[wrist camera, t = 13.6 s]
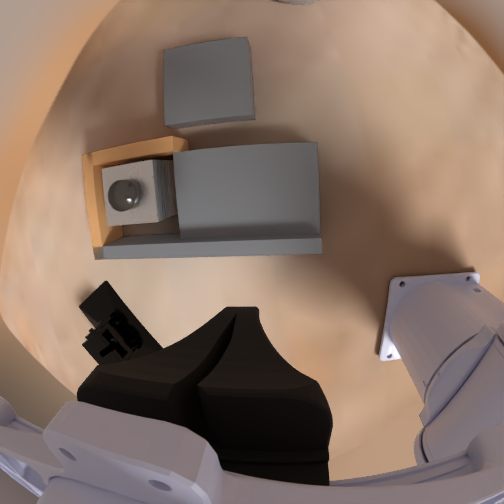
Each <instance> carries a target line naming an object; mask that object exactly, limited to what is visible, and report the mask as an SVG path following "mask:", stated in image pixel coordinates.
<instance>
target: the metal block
mask: <svg viewBox="0 0 504 504" xmlns="http://www.w3.org/2000/svg"><path fill="white" fill-rule="evenodd" d="M102 179H103V190H104V199H105V208H106V216H107V223H108V226H117V225H129V224H140V223H153V222H160V221H162V220H164V219H166V218H168V217H171V216H173V215H175V214H177V213H178V209H177V198H176V187H175V175H174V161H172V160H147V161H141V162H135V163H130V164H124V165H119V166H114V167H109V168H104V169H102Z"/></svg>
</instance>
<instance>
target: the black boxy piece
mask: <svg viewBox="0 0 504 504" xmlns="http://www.w3.org/2000/svg"><path fill="white" fill-rule="evenodd" d="M79 308H80V309H81V311H82V312H83V313H84V314H85V316H86V317H87V318H88V320H89V321H90V322H91V323H92V325H93V326H94V327H95V328H94V329H92V328H91V329H90V330H89V332H90V333H89V334H88V335H87V336H86V337H85V338H86V339H87V340H86V341H85V342H84V343H83V344H82V345H83V347H84V348H85V349H86V350H87V351H88V352H89V354H90V355H91V356H92V357H93V358H94V359H95V360H96V362H97V363H98V364H99V365H104V364H111V363H117V362H123V361H127V360H131V359H135V358H139V357H142V356H145V355H148V354H151V353H153V352H156V351H159V350H161V349H163V348H162V347H161V346H160V344H159V343H158V342H157V341H156V340H155V339H154V338H153V337H152V335H151V334H150V333H149V332H148V331H147V330H146V329H145V327H144V326H143V325H142V324H141V323H140V322H139V320H138V319H137V318H136V317H135V316H134V314H133V313H132V312H131V311H130V309H129V308H128V307H127V306H126V304H125V303H124V302H123V301H122V299H121V298H120V297H119V296H118V294H117V293H116V292H115V290H114V289H113V288H112V287H111V285H110V284H109V283H108V281H105V282H103V283H102V284H101V285H100V286H99V287H98V288H97V289H96V290H95V291H94V292H93V293H92V294H91V295H90V296H89V297H88V298H87V299H86V300H85V301H84V302H83V303H82V304H81V305H80V306H79Z"/></svg>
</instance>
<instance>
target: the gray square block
mask: <svg viewBox="0 0 504 504" xmlns="http://www.w3.org/2000/svg"><path fill="white" fill-rule="evenodd" d="M164 120H165V126H167V127H170V128H173V129H178V128H185V127H192V126H199V125H207V124H215V123H224V122H235V121H246V120H255V108H254V93H253V78H252V64H251V50H250V45H249V41H248V38H247V37H237V38H229V39H222V40H215V41H208V42H202V43H197V44H192V45H186V46H182V47H177V48H173V49H168V50H164Z"/></svg>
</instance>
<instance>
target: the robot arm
mask: <svg viewBox="0 0 504 504" xmlns="http://www.w3.org/2000/svg"><path fill="white" fill-rule="evenodd" d="M467 277H468V279H467ZM466 279H467V280H466ZM479 279H480V275H479V273H477V272H465V273H452V274H438V275H424V276H408V277H395V278H393V279H392V280H391V281H390V286H389V295H388V302H387V309H386V316H385V323H384V329H383V335H382V340H381V346H380V351H379V359H380V360H381V361H387V360H395V359H402V361H403V363H404V365H405V367H406V368H407V370H408V372H409V374H410V376H411V378H412V380H413V382H414V384H415V386H416V388H417V390H418V392H419V394H420V397H421V399H422V401H423V403H424V405H425V406H424V408H423V410H422V411H421V413H420V414H419V417H420V419H421V421H422V424H423V426H424V428H423V429H422V430H421V431H420V432H419V433H418V435H417V436H416V439H415V442H414V454H415V458H416V462H417V466H414V467H410V468H406V469H402V470H397V471H393V472H388V473H383V474H378V475H372V476H366V477H361V478H353V479H346V480H337V481H329V470H328V461H329V451H328V446H329V441H330V437H331V432H332V427H333V419H332V414H331V410H330V407H329V405H328V402H327V399H326V397H325V395H324V393H323V391H322V389H321V387H320V385H319V383H318V382H317V381H316V380H314V379H312V378H310V377H308V376H306V375H304V374H302V373H301V372H299V371H298V370H296V369H295V368H293V367H292V366H291V365H290V364H289V363H288V362H287V361H286V360H284V359H283V358H282V356H281V355H280V354H279V353H278V352H277V351H276V349H275V348H274V347H273V345H272V344H271V342H270V341H269V339H268V337H267V336H266V334H265V332H264V330H263V327H262V325H261V323H260V319H259V309H258V308H257V307H226V308H224V309H223V310H222V311H220V312H219V313H218V314H217V315H216V316H214V317H213V318H212V319H211V320H209V321H208V322H207V323H205V324H204V325H203V326H201V327H200V328H199V329H197V330H196V331H194V332H193V333H191V334H190V335H188V336H187V337H185V338H183V339H182V340H180V341H178V342H176V343H174V344H172V345H170V346H168V347H166V348H163V349H161V350H159V351H156V352H153V353H151V354H148V355H145V356H142V357H139V358H135V359H131V360H127V361H123V362H117V363H111V364H104V365H97V366H96V368H95V369H94V370H93V371H92V372H91V374H90V375H89V376H88V377H87V378H86V380H85V381H84V382H83V383H82V384H81V386H80V387H79V388H78V391H77V399H78V401H67V402H66V403H65V404H64V406H63V407H62V408H61V409H60V410H59V412H58V413H57V414H56V415H55V417H54V418H53V419H52V421H51V422H50V423H49V424H48V426H47V427H46V428H45V430H43V429H41V428H39V427H37V426H35V425H33V424H31V423H29V422H28V421H26V420H24V419H22V418H20V417H19V416H17V415H16V413H15V411H14V409H13V408H12V407H11V405H10V404H9V402H8V401H7V400H5V399H4V398H2V397H1V396H0V468H1V469H2V470H4V471H5V472H6V473H8V474H9V475H10V476H11V477H12V478H14V479H15V480H16V481H18V482H19V483H20V484H22V485H23V486H24V487H26V488H27V489H28V490H30V491H31V492H33V493H34V494H35V495H37V496H38V497H40V498H39V500H38V502H37V503H36V504H504V303H503V302H502V301H500V300H499V299H498V298H496V297H495V296H494V295H493V294H491V293H490V292H489V291H487V290H486V289H485V288H483V287H482V286H480V285H479ZM402 281H403V284H402V285H401V286H400V285H399V284H400V282H402ZM389 354H391V355H390V356H388V355H389Z"/></svg>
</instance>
